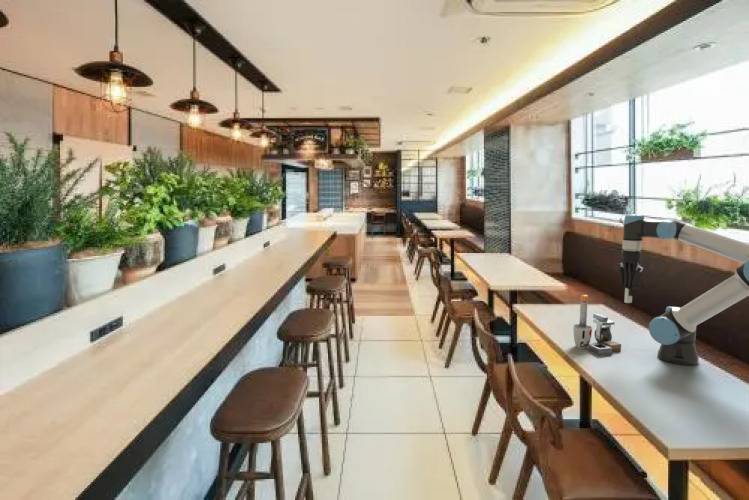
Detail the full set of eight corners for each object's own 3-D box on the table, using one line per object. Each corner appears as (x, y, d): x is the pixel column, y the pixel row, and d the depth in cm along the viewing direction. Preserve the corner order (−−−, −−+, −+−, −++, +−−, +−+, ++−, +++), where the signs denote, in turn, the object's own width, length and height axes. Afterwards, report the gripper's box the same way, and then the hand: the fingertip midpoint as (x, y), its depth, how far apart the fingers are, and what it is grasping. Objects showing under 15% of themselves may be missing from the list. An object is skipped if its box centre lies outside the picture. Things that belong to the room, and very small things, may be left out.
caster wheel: (614, 345, 225) (616, 318, 224) (602, 347, 224) (604, 319, 222) (599, 339, 235) (601, 313, 233) (587, 340, 233) (589, 314, 231)
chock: (620, 351, 218) (621, 343, 218) (610, 352, 217) (610, 345, 216) (612, 347, 223) (612, 340, 223) (602, 349, 221) (602, 342, 221)
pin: (587, 327, 221) (589, 295, 219) (582, 327, 220) (583, 296, 219) (583, 325, 224) (585, 294, 222) (577, 325, 223) (579, 294, 221)
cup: (580, 350, 219) (581, 329, 217) (568, 345, 226) (569, 324, 225) (594, 349, 221) (596, 328, 219) (582, 343, 228) (584, 323, 227)
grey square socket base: (611, 354, 214) (612, 347, 213) (598, 355, 212) (599, 349, 211) (600, 349, 220) (601, 343, 220) (587, 350, 219) (588, 344, 218)
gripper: (651, 251, 201) (646, 305, 204) (627, 247, 213) (623, 298, 216) (636, 252, 199) (632, 306, 202) (613, 248, 211) (610, 299, 215)
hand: (628, 302), depth 209 cm, fingers closed
